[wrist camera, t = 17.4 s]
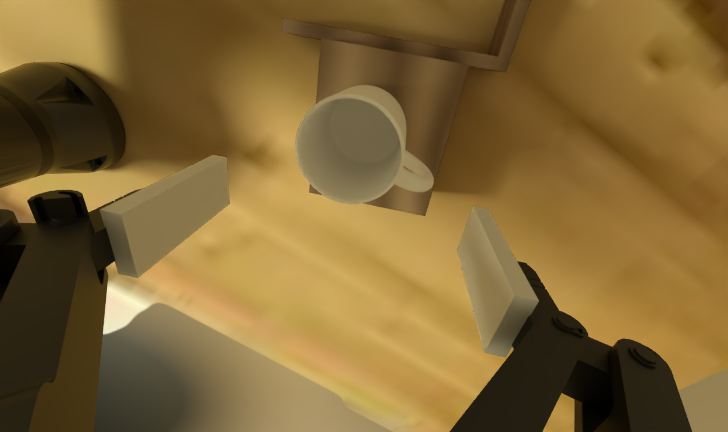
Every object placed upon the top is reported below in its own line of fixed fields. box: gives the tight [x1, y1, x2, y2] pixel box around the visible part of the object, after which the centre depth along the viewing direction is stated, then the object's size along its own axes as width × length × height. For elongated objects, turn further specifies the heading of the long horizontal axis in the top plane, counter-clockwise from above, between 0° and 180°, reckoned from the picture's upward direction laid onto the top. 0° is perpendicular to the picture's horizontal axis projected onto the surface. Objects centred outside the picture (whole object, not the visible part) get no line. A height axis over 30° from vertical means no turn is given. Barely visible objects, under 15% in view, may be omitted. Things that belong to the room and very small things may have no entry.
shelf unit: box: [282, 0, 531, 216], centre depth 31 cm, size 23×34×8 cm
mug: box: [296, 85, 434, 204], centre depth 27 cm, size 12×8×10 cm
